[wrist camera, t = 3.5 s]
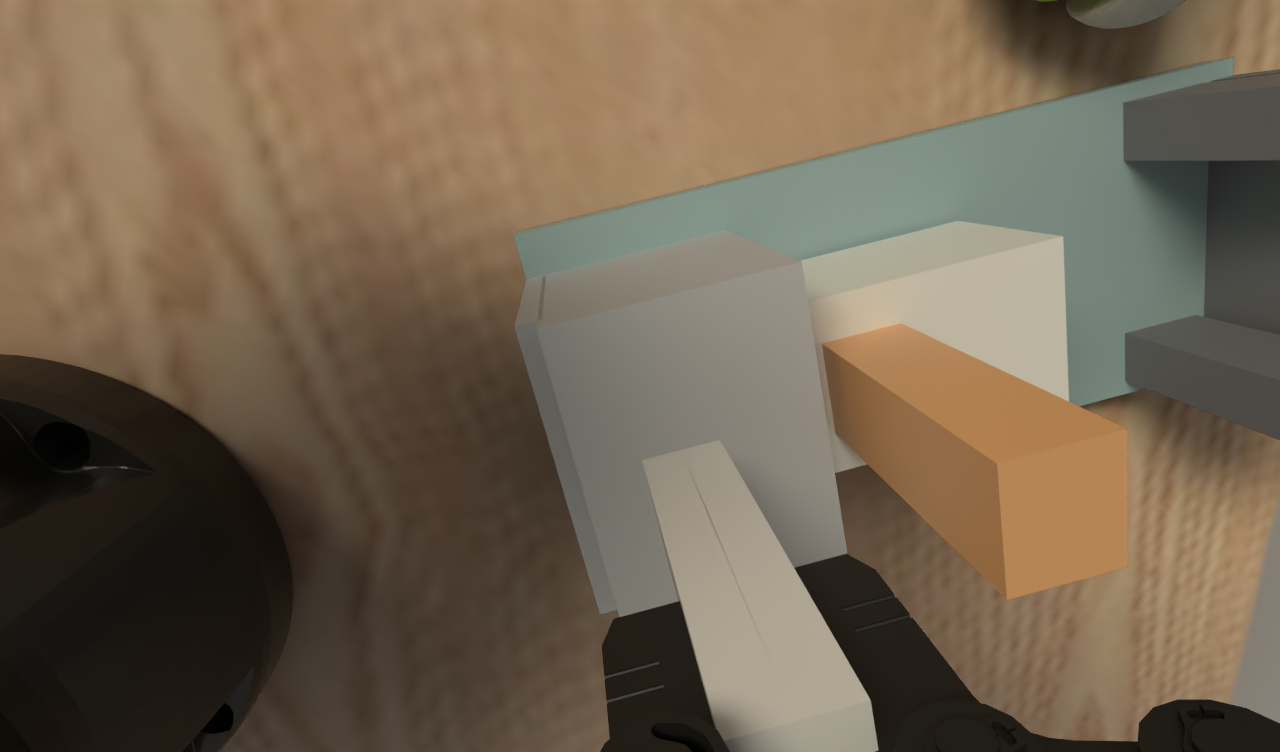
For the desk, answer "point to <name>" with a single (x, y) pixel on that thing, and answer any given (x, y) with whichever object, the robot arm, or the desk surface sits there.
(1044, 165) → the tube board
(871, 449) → the block with wooden peg
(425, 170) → the desk surface
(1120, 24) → the rainbow disc toy
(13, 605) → the robot arm
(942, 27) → the desk surface
